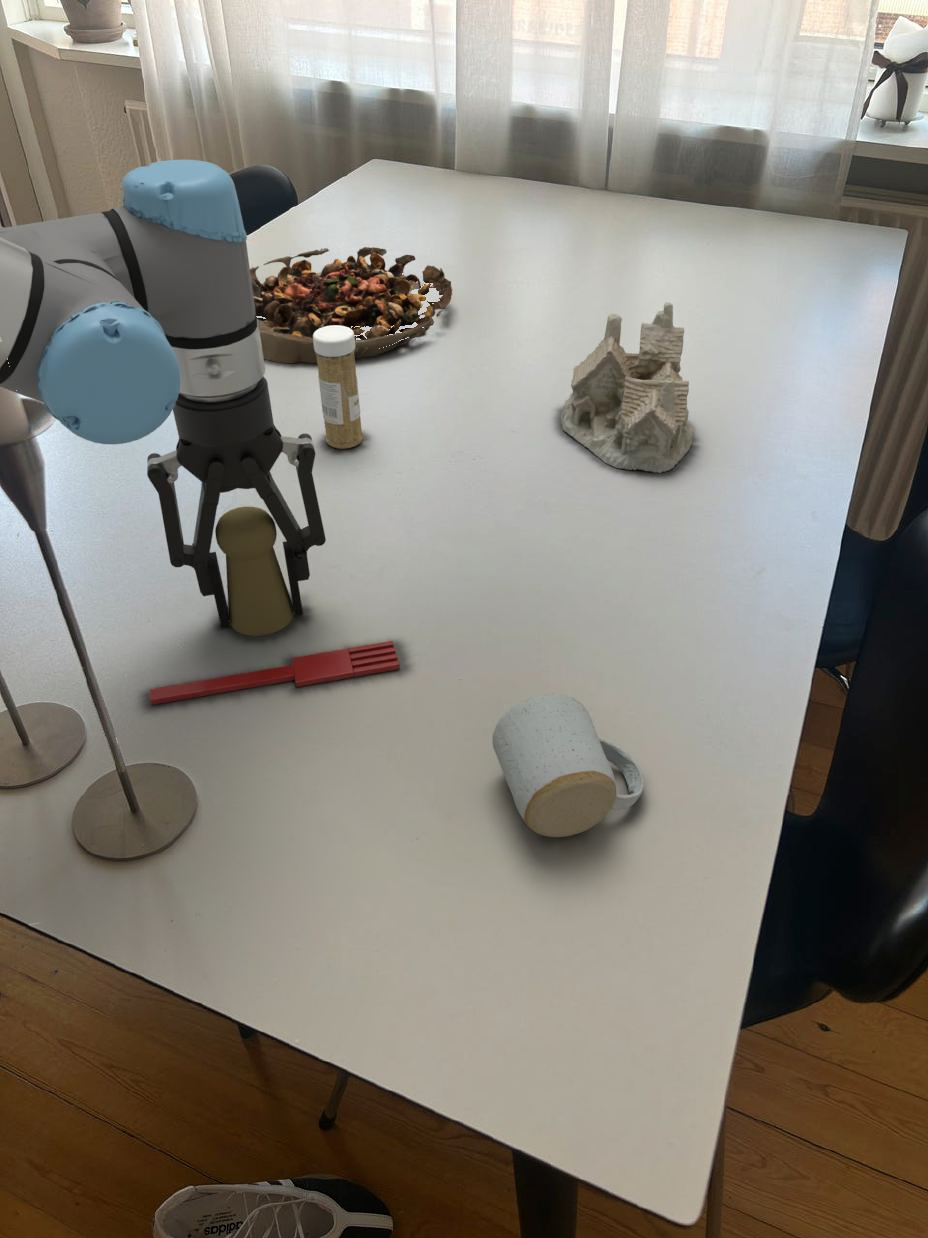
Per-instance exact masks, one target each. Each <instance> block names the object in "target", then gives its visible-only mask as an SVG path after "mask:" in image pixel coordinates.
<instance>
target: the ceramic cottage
mask: <svg viewBox="0 0 928 1238" xmlns="http://www.w3.org/2000/svg"><path fill="white" fill-rule="evenodd" d="M622 321H623V318H622V317H621V316H620V315H619V314H618V313H609V314H608V315H607V318H606V325H605V332H604V336H603V339H602V340H600V342H599V343H598V345H597V346H596V347H595V349H594V350H593V351H592V352H590V353H589V354H588V355H587V356H586V358H585V359H584V360H583V361H580V362H579V364H578V365H575V366H574V367H573V373H572V374H573V375H572V380H571V384H570V387H571V389H572V393H570V394H569V397H568V398H567V399H566V400H564V405H563V406H562V412H561V416H560V418H559V419H560V424H561V428H562V430H563V432H565V433H566V434H568V435H569V436H571V437H572V438H573V439H574V440H575V441H577V442H578V443H579V444H581V445H583V446H584V448H587V449H588V450H589V451H590V452H592V453H593V455H595V456H597V458H598V459H600V460H601V461H602V462H604V463H605V464H607V465H610V466H612V467H614V468H616V469H620V470H621V469H623V470H624V469H625V470H626V471H629V470H630V471H632V470H634V471H636V470H641V471H644V472H652V473H658V474H662V472H663V473H665V472H668V471H670V470H672V469H673V468H675V465H678V464H679V462H680V461H682V459H683V457H684V456H685V455H686V454H687V453H688V452H689V451H690V448H691V447H692V444H693V433H694V432H693V431H694V430H693V429H694V428H693V426H692V425H691V423H690V422H689V421H688V420H689V415H690V411H689V409H688V395H689V390H690V389H689V385H690V380H683V376H681V375H680V374H679V373H680V372H681V361H682V358H681V357H682V354H683V350H684V349H683V348H684V336H685V327H681V326H679V327H675V326H674V305H673V303H671V302H669V301H665V303H664V305H663V310H658V311H657V312H656V315H655V316H654V318H653V321H652V322H651V323H648V322H642V323H641V326H640V338H639V340H640V341H639V351H638V353H630V352H626V351H625V349H624V347H622V346H621V345H620V344H621V335H622V334H621V332H622Z"/></svg>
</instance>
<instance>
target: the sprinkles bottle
mask: <svg viewBox="0 0 928 1238" xmlns="http://www.w3.org/2000/svg"><path fill="white" fill-rule="evenodd" d="M313 344H314V350H315V353H316V356H317V363H316V364H317V372H318V375H317V377H318V386H319V393H320V402H321V403H320V404H321V410H322V417H323V420H324V429H325V436H324V440H325V442H326V444H327V445H329V446H330V447H332V448H336V449H341V450H344V449H351V448H354V447H356V446H358V445H360V444H361V443H362V442H363V439H364V433H363V431H362V421H361V405H360V396H359V395H360V394H359V386H358V385H359V384H358V376H357V368H356V358H355V356H354V351H355V337H354V332H353V330H352V329H350V328H348V327H345V326H340V325H332V326H326V327H322V328H320V329H318V330H316V331H315V332H314V334H313Z"/></svg>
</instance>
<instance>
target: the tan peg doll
mask: <svg viewBox="0 0 928 1238" xmlns="http://www.w3.org/2000/svg"><path fill="white" fill-rule="evenodd" d="M214 532H215V533H214V534H215V541H216V543H217V546H218V547H219V549H220V550H221V551H222V553H223V554H225V569H226V586H227V587H226V588H227V606H228V614H229V624H230V627H231V628H232V629H233V630H234V631H236V632H238V633H239V634H241V635H245V636H249V637H251V636H252V637H261V636H268V635H271V634H274V633H277V632H279V631H281V630H283V629H284V628H285V627H287V626H288V625H289V624H290V623H291V622H292V620H293V619H294V616H295V613H294V608H293V602H292V597H291V595H290V593H289V590H288V587H287V583H286V581H285V578H284V575H283V572H282V569H281V566H280V563H279V560H278V557H277V554H276V551H275V548H274V546H275V545H276V541H277V534H278V532H277V525H276V522H275V520H274V518H273V516H272V515H271V514H270V513H268V511H266V509H265V510H264V509H263V508H261V507H257V506H239V507H236V508H232V509H229V510H228V511H226V512H225V513H223V514H222V515H221V516H220V517H219V519H218V520H217V523H216V525H215V531H214Z"/></svg>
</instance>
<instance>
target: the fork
mask: <svg viewBox="0 0 928 1238" xmlns="http://www.w3.org/2000/svg"><path fill="white" fill-rule="evenodd" d="M400 669H401V667H400V661H399V660H398V654H397V653H396V648H395V645H394V640H389V641H382V642H377V643H372V644H366V645H359V646H354V647H348V648H342V649H336V650H330V651H325V652H317V653H313V654H306V655H300V656H294V657H291V664H289V665H283V666H277V667H272V668H266V669H265V668H264V669H260V670H253V671H248V672H242V673H235V674H229V675H225V676H218V677H213V678H207V679H200V680H194V681H189V682H184V683H178V684H172V685H166V686H160V687H154V688H153V687H152V688H149V701H150V705H158V704H165V703H171V702H177V701H181V700H187V699H193V698H200V697H205V696H210V695H216V694H223V693H228V692H233V691H234V692H235V691H239V690H245V689H250V688H251V689H252V688H256V687H257V688H258V687H262V686H263V687H264V686H268V685H274V684H279V683H280V684H281V683H286V682H291V681H292V682H293V681H294V683H295V687H296V688H299V687H305V686H310V685H316V684H322V683H327V682H332V681H338V680H344V679H349V678H356V677H361V676H368V675H374V674H378V673H384V672H391V671H396V670H400Z"/></svg>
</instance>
